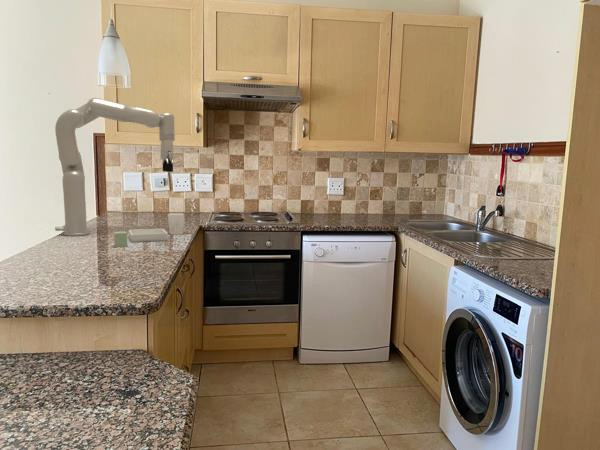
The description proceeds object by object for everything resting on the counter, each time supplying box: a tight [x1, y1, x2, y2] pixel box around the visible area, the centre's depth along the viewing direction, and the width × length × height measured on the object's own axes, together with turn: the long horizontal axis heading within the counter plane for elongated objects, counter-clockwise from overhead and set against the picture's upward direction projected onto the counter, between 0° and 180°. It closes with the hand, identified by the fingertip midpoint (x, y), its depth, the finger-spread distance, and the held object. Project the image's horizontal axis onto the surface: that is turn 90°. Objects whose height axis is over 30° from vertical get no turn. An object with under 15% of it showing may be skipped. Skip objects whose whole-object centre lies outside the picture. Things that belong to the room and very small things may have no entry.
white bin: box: [128, 227, 169, 243], centre depth 228 cm, size 16×16×4 cm
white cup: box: [167, 212, 185, 236], centre depth 243 cm, size 8×8×10 cm
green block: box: [113, 230, 128, 248], centre depth 209 cm, size 5×5×6 cm
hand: (167, 171), depth 251 cm, fingers open, 9 cm apart
